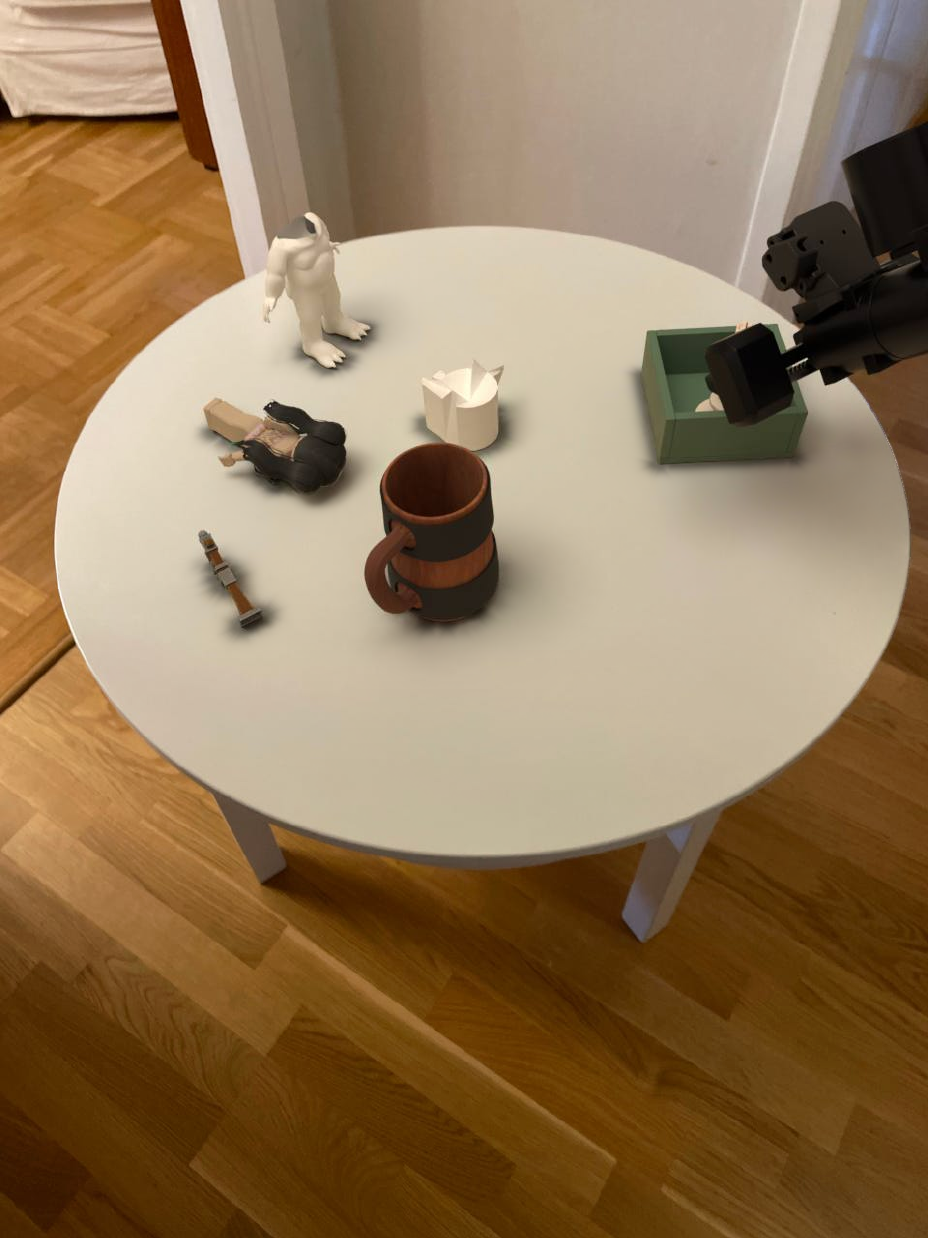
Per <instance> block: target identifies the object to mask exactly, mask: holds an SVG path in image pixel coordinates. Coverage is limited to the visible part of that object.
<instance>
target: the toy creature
mask: <svg viewBox="0 0 928 1238" xmlns="http://www.w3.org/2000/svg"><path fill="white" fill-rule="evenodd" d="M330 239H331V238H330V233H329V231H328V228H327V225H326V223H324V221H323V220H322V219H321V218H320V217H319V216H318V215H317V214H316V213H314V212H311V211H310V212H306V213H304V214H302V215H298V216H297V217H295V218H293V219H292V220H290V221H289V222H288V223H286V224H285V225H284V226H283V227H282V228H281V229H280V231H279V232H278V233H277V235H275V237H274V238H273V240H272V242H271V245H270V248H269V250H268V254H267V261H266V263H267V265H266V278H265V282H264V291H265V298H264V300H263V301H262V302H263V303H262V308H263V309H262V320H263V321H264V322H265V323H268V324H271V320H270V317H269V314H270V312H273V311H274V310H275V308H276V306H277V302H278V300H279V299H280V298H281V296H282V295H283V292H284V291H285V293H286V295H287V297H288V298H289V299H290V300H292V303H293V306H294V309H295V312H296V315H297V317H298V320H299V323H298V327H299V331H300V336H301V347H302V348H301V349H302V351H303V352H304V354H305V355H307V356H309V357H312V358H314V359H315V360H317V362H318V363H319V364H320V365H321V366H323V367H325V368H327V369H330V368H336V367H337V365H336V363H343V359H342V358H346V355H345V353H344V352H343V350H341V349H338V348H337V347H336V346H334V344H332V343H330V342H328V341H326V340H324V338H323V331H324V332H325V333H327V334H331V335H332V334H338V335H341V336H343V337H347V338H349V339H351V340H353V341H355V340H359V341H361V340H362V338H361V337H362V336H368V333H367V332H366V331H367V330H371V327H370V326H369V324H365V323H364V322H360V321H356V320H354V319H352V318H351V317H349V316H347V315H345V314H344V313H343V312H342V308H341V307H342V305H341V299H342V294H341V291H340V287H339V284H338V281H337V278H336V274H335V265H336V262H335V261H336V260H335V253H334V251H335V252H336V254H338V255H340V254H341V252H340V249H339V248H338V247H337V246H341V242H339V241H336V242H333V241H331V240H330Z"/></svg>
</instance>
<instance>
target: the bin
mask: <svg viewBox="0 0 928 1238" xmlns="http://www.w3.org/2000/svg"><path fill="white" fill-rule="evenodd" d="M762 324H763V323H762ZM763 325H765V326H766V327H767V328H769V329H770V330H771V331H773V332H774V335H775V338H776V341H777V343H778V346H779V349H780V352H783V351H785V350H787V347H786V344H785V342H784V339H783V335H782V333H781V330H780V327H779V324H778V323H769V324H768V323H764V324H763ZM737 326H738V325H726V326H725V325H724V326H708V327H707V326H705V327H687V328H667V329H656V330H655V329H651V330H646V335H645V342H644V347H643V348H644V349H643V355H642V356H643V357H642V364H641V371H640V380H641V384H642V388H643V389H642V390H643V394H644V399H645V403H646V408H647V413H648V418H649V423H650V427H651V428H650V429H651V433H652V438H653V442H654V443H653V444H654V448H655V453H656V457H657V461H658V463H657V464H659V465H661V464H683V463H703V462H723V461H724V462H725V461H744V460H745V461H746V460H765V459H785V458H794V456H795V454H796V450H797V448H798V445H799V442H800V439H801V436H802V432H803V430H804V427H805V423H806V421H807V417H808V415H809V410H808V407H807V404H806V402H805V399H804V396H803V393H802V391H801V387H800V385H799V380H798V381H796V382H794V383H792V386H793V389H794V392H795V393H794V396H793V399H792V403H791V406H790V407H788V408H786V409H784V410H782V411H780V412H778V413H776V414H775V415H773V416H771V417H769V418H767V419H765V420H763V421H761V422H759V423H757V424H755V425H752V426H747V427H742V428H736V427H734V426H732V425H730V424H729V422H728V419H727V417H726V414H725V411H724V410H721V411H701V412H695V410H696V408H697V407H698V405H699V404H700V403H702V402H703V401H705V400H707V399H710V396H711V394H712V393H713V392H711V391H710V390H709V389H708V387H707V384H706V381H705V377H706V376H707V375H708V374H709V373H710V371H709V368H708V366H707V363H706V360H705V358H704V355H705V352H706V349H707V346H709V345H711V344H713V343H715V342H717V341H719V340H721V339H723V338H725V337H727V336H730V335H732V334H734V333H735V331H736V328H737ZM792 367H793V365H792V366H790V367H788V368H786V369H787V370H788V369H790V368H792Z"/></svg>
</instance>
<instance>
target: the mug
mask: <svg viewBox="0 0 928 1238" xmlns="http://www.w3.org/2000/svg"><path fill="white" fill-rule="evenodd" d="M491 478H492V477H491V474H490V470H489V467H488V466H487V464H486V463H485V462H484V461H483V460H482V459H481V458H480V457H479V456H478V455H477V454H475V453H474V451H470V450H468V449H466V448H464V447H462V446H459V445H455V444H450V443H446V442H429V443H428V442H427V443H423V444H420V445H416V446H413V447H411V448H409V449H406V450H404V451H403V452H401V453H400V454H399V455H397V456H396V457H394V459H393V460H391V462H390V463H389V465H388V466H387V467H386V469H385V471H384V472H383V474H382V476H381V479H380V483H379V496H380V503H381V512H382V521H383V522H382V523H383V531H384V533H385V536H384V537H383V538H382V539H381V540H379V542H378V543H377V544H376V545H374V547H372V549H371V550H370V552H369V554H368V556H367V558H366V560H365V564H364V569H363V570H364V572H363V575H364V582H365V586H366V589H367V591H368V594H369V596H370V597H371V599H372V600H373V602H374V603H375V604H376V606H378V607H379V608H380V609H381V610H382V611H384V612H385V613H388V614H391V615H400V614H403V613H405V612H407V611H408V612H409V613H412V614H414V615H416V616H417V617H420V618H422V619H424V620H428V621H429V620H430V621H434V622H452V621H456V620H460V619H463V618H466V617H468V616H470V615H472V614H474V613H475V612H476V611H479V610H480V609H482V607H484V606H485V605H486V604H487V603H488V602H489V601H490V600H491V598H492V597H493V595H494V594H495V592H496V589H497V587H498V583H499V580H500V579H499V578H500V577H499V576H500V566H499V565H500V564H499V563H500V562H499V553H498V547H497V540H496V536H495V533H494V531H493V526H494V524H495V512H494V505H493V495H492V479H491ZM386 568H387V574H388V580H387V575H386ZM388 581H389V582H388Z"/></svg>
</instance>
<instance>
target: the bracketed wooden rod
mask: <svg viewBox="0 0 928 1238" xmlns="http://www.w3.org/2000/svg"><path fill="white" fill-rule="evenodd" d="M197 536H198V541H199V543H200V544H201V546H202V548H203V550H204V555H205V557H206V559H207V561H208V562H209V563H213V564H212V567H213V568H214V569H213V571H212V572H213V575H214V576H217V578H218V580H219V583H220V586H223V587H224V588H225V590H228V592H229V594H230V596H231V598H232V600H233V602H234V605H235V606H236V608H237V611H238V612H239V616H238V623H239V624H240V628H242V627H244V626H247V625H249V624H250V623H251V622H253V621H256V620H257V619H260V618H261V617H262V616H263V613H262V609H260V607H259V606H256V607H255V606H253V604H252V603H251V602H250V600H249V599H248V597H246V595H245V594H244V593H243V591H242V590H241V589H240V587H239V585H238V582H237V579H236V578H235V577H234V575H233V573H232V570H231V569H230V567H229V565H228V563H227V561H224V559H223V557H222V555H221V554H220V552H219V546H218V545H217V544H216V542H215V540H214V538H213V537H212V534H211V533H210V532H209V533H208V532H207V531H206V530H204V529H201V530H200V531H199V532H198V534H197Z"/></svg>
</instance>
